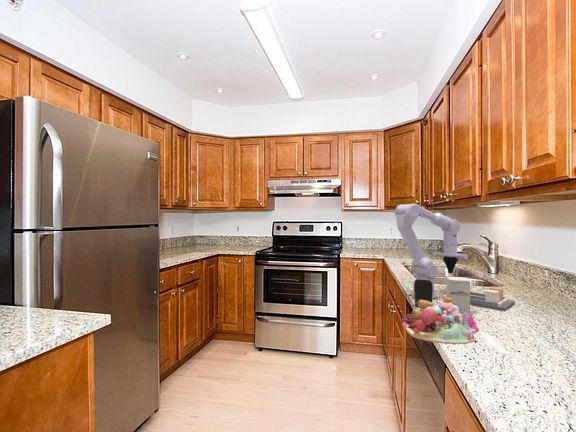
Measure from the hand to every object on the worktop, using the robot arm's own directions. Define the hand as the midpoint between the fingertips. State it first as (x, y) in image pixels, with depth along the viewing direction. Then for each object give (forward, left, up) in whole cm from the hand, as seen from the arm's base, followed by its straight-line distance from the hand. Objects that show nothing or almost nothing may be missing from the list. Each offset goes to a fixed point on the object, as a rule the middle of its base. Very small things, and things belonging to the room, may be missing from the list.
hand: (450, 273), depth 147 cm
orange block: (-3, -19, -8) cm, 21 cm away
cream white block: (-9, -20, -8) cm, 23 cm away
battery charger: (-29, -1, -10) cm, 31 cm away
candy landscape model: (-50, -16, -10) cm, 53 cm away
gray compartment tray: (-6, -15, -10) cm, 19 cm away
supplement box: (-25, -12, -10) cm, 29 cm away
